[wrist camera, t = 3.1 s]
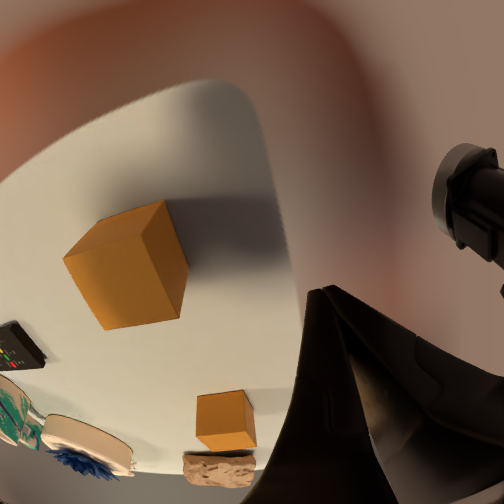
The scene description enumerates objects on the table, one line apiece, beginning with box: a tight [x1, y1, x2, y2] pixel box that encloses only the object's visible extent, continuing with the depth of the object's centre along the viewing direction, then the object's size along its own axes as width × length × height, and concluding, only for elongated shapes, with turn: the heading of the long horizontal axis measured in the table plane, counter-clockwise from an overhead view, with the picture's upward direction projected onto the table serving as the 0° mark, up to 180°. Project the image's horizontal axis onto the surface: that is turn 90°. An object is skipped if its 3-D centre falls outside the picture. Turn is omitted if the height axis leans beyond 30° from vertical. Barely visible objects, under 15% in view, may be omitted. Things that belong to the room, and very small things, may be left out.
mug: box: [0, 375, 43, 450], centre depth 21 cm, size 8×12×8 cm
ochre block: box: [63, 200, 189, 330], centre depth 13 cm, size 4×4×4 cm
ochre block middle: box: [196, 390, 257, 452], centre depth 22 cm, size 4×4×4 cm
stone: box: [183, 455, 256, 488], centre depth 30 cm, size 9×11×5 cm
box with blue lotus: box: [41, 415, 136, 481], centre depth 28 cm, size 7×16×20 cm
